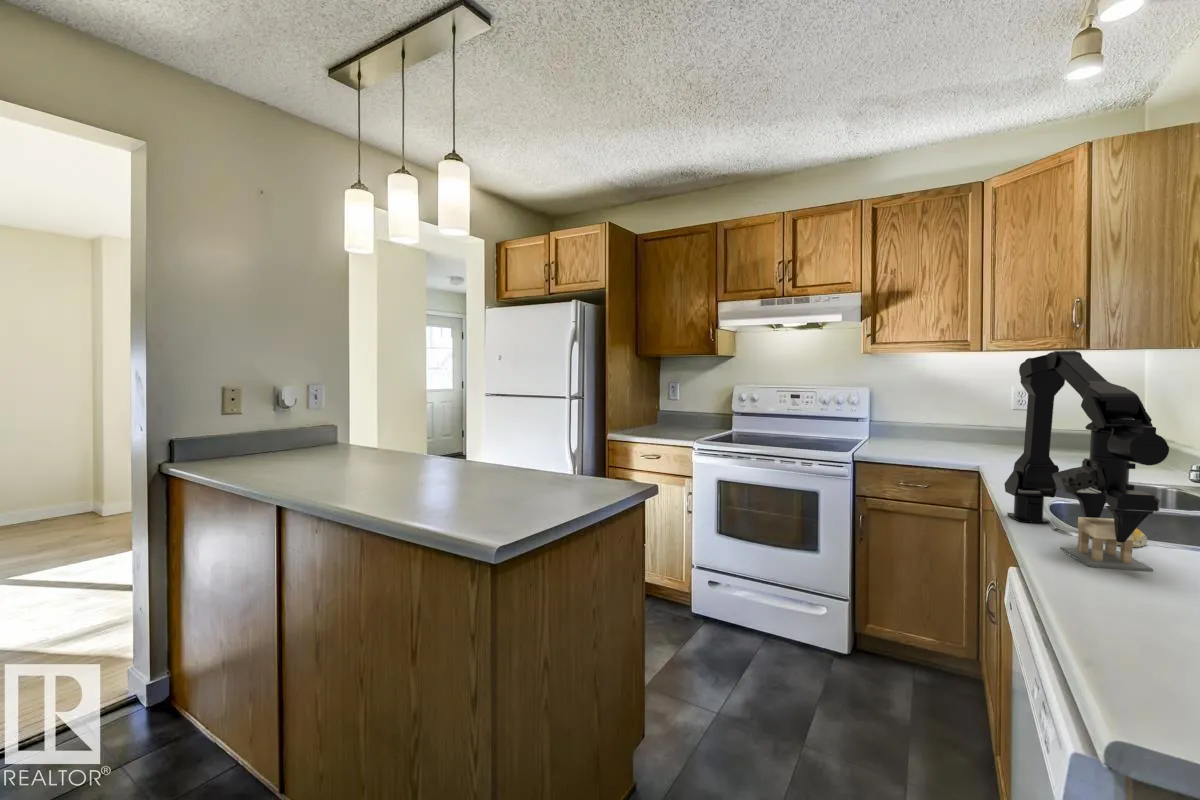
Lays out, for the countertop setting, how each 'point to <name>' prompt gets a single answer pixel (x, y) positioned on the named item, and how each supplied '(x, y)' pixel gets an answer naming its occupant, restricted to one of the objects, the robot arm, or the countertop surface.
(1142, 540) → the bread roll
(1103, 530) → the stool
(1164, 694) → the countertop surface
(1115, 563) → the mat
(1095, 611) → the countertop surface
